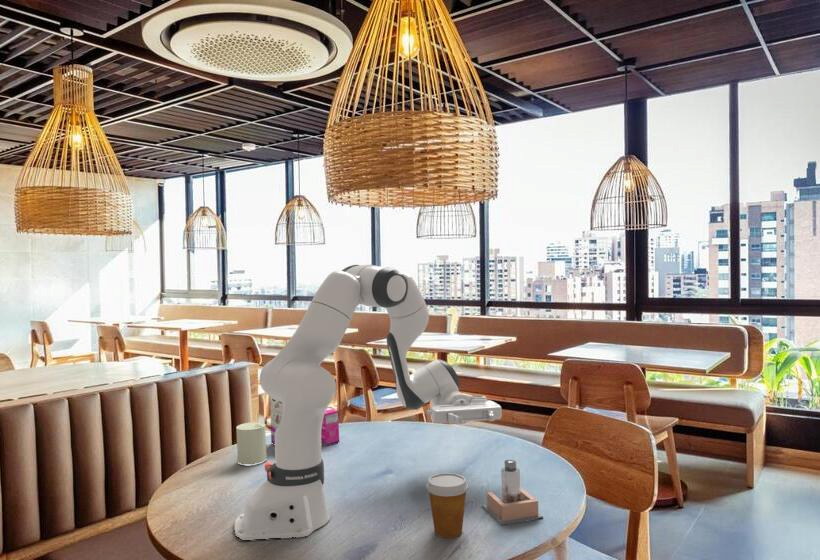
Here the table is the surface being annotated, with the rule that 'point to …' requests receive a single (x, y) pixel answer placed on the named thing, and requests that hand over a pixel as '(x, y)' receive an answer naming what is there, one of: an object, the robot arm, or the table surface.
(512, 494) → the silver water flask
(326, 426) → the supplement box
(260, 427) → the can
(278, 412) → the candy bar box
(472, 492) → the table surface
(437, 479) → the disposable coffee cup
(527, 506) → the dock
